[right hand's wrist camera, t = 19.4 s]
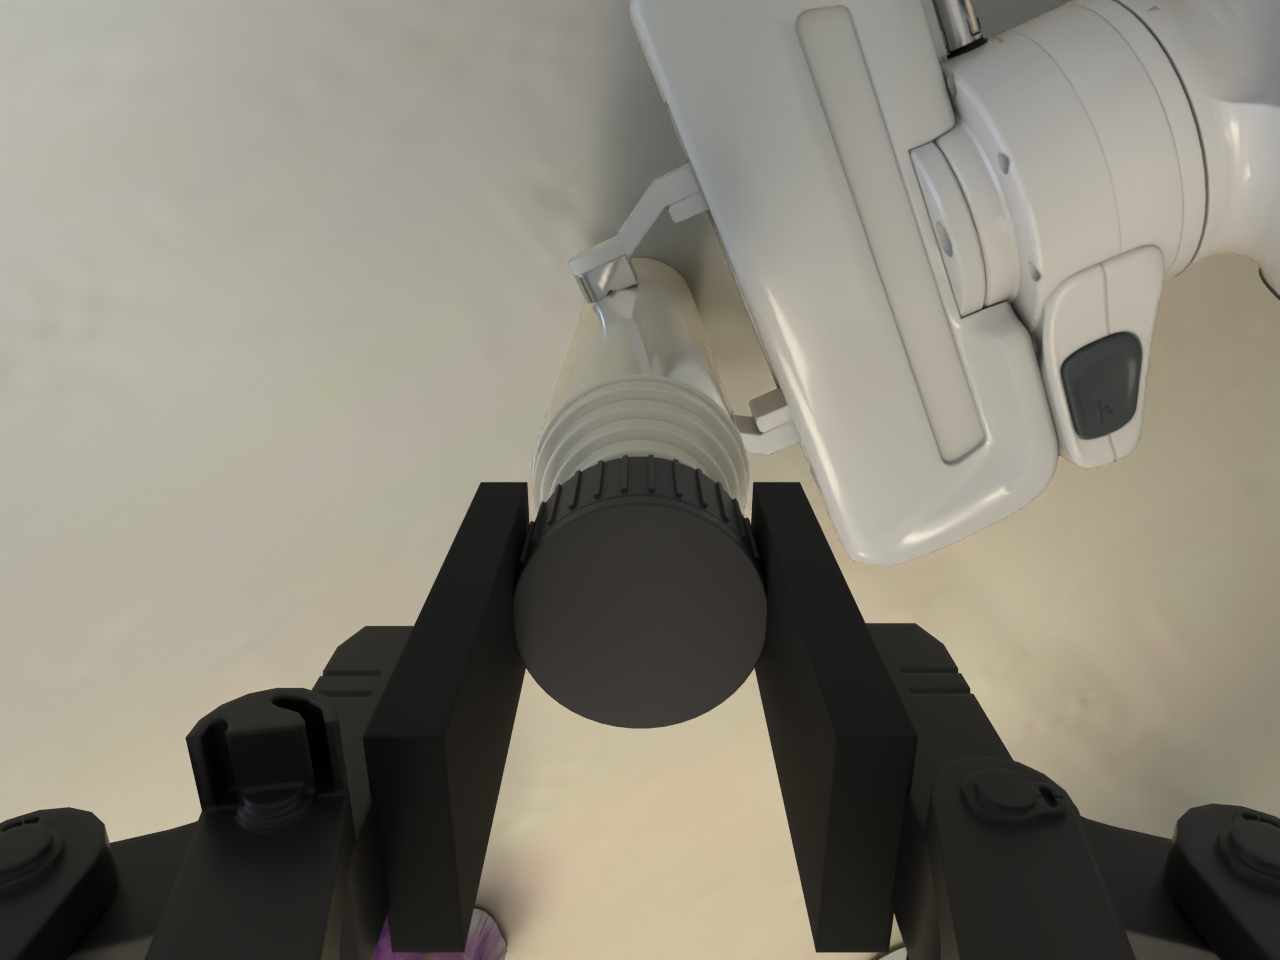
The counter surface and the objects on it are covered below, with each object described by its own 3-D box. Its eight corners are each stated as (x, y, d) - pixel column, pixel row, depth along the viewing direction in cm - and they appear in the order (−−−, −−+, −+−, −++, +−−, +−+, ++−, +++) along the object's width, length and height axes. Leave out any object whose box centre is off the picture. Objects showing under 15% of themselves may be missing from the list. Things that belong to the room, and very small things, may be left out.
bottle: (708, 350, 36) (818, 686, 14) (604, 381, 36) (548, 755, 14) (678, 242, 34) (746, 426, 12) (569, 276, 35) (446, 512, 13)
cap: (542, 431, 14) (527, 477, 12) (782, 475, 14) (803, 526, 12) (508, 640, 15) (490, 710, 13) (727, 676, 15) (739, 750, 14)
